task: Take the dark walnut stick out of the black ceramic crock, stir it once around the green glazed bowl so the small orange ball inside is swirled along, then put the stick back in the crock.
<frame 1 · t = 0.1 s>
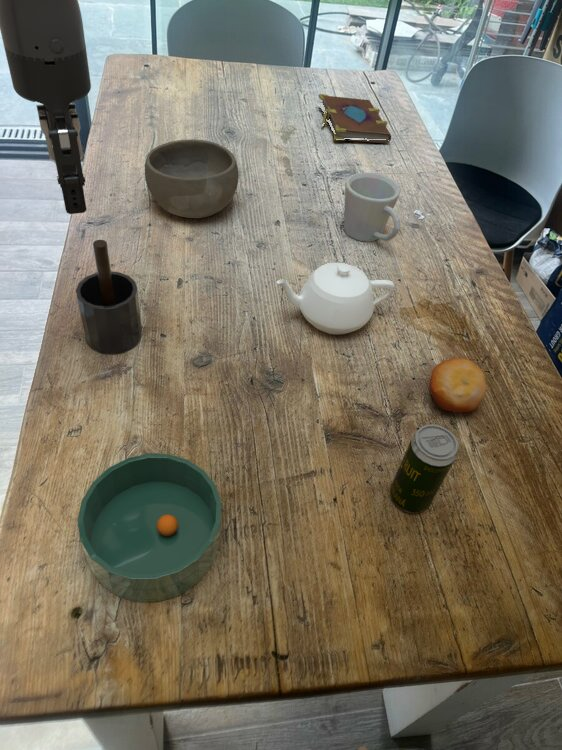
hand: (72, 192, 68), 26 cm above the table, tool pointing down, fingers open, 8 cm apart
stick: (113, 331, 89), point 1 cm above the table, touching crock
crock: (113, 335, 89), on the table
teapot: (330, 317, 98), on the table
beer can: (409, 497, 75), on the table
book: (347, 123, 151), on the table
fruit: (448, 401, 87), on the table
mug: (368, 238, 115), on the table
bowl: (192, 205, 117), on the table
ball: (167, 525, 67), point 2 cm above the table, touching mixing bowl
mixing bowl: (154, 537, 68), on the table
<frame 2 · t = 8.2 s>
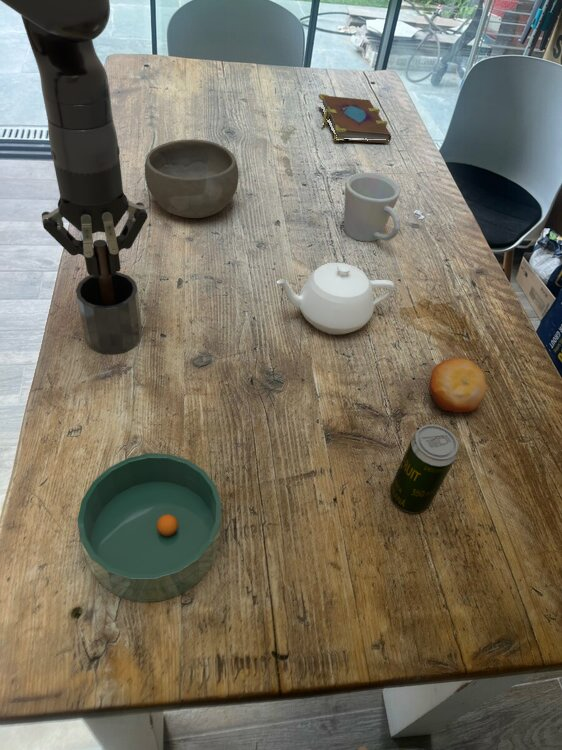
hand: (104, 273, 81), 12 cm above the table, tool pointing down, fingers closed on stick, 2 cm apart
stick: (113, 331, 89), point 1 cm above the table, touching crock, gripper
everything else where it was.
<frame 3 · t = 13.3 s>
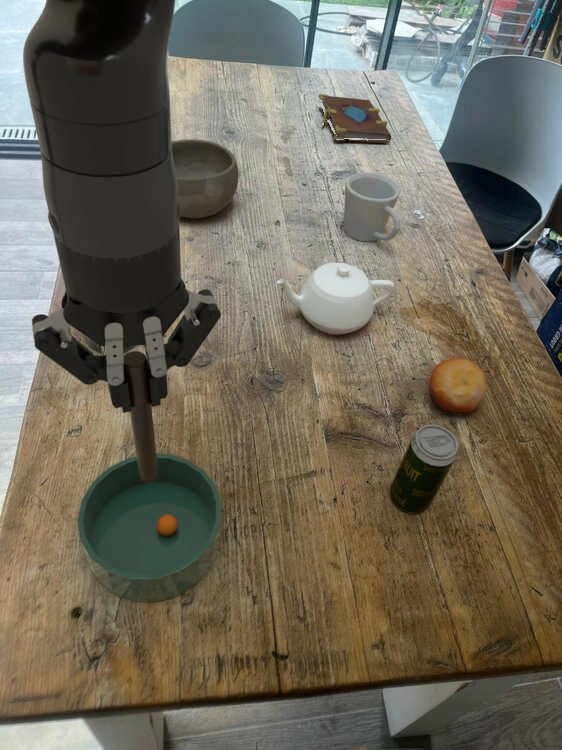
hand: (139, 401, 48), 26 cm above the table, tool pointing down, fingers closed on stick
stick: (148, 475, 56), point 15 cm above the table, touching gripper
everything else where it was.
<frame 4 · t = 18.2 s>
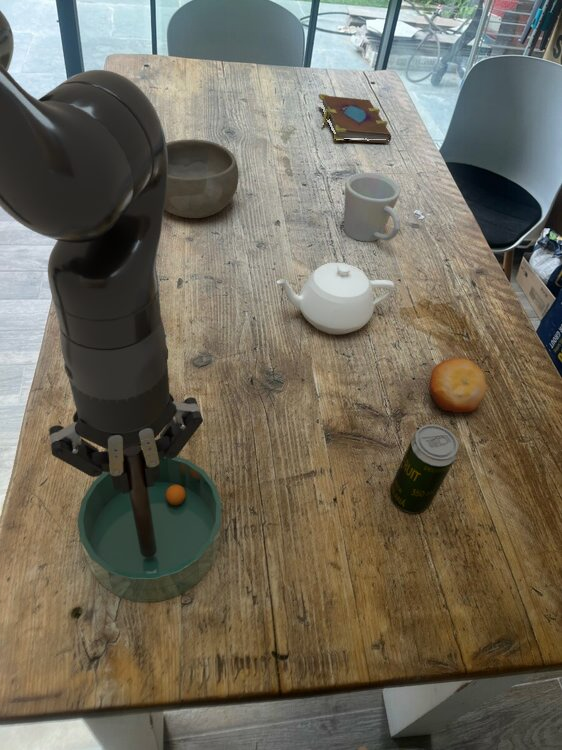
hand: (136, 482, 57), 13 cm above the table, tool pointing down, fingers closed on stick, 2 cm apart
stick: (148, 550, 64), point 2 cm above the table, tilted 8°, touching gripper
ball: (175, 494, 69), point 2 cm above the table, tilted 167°, touching mixing bowl
everything else where it was.
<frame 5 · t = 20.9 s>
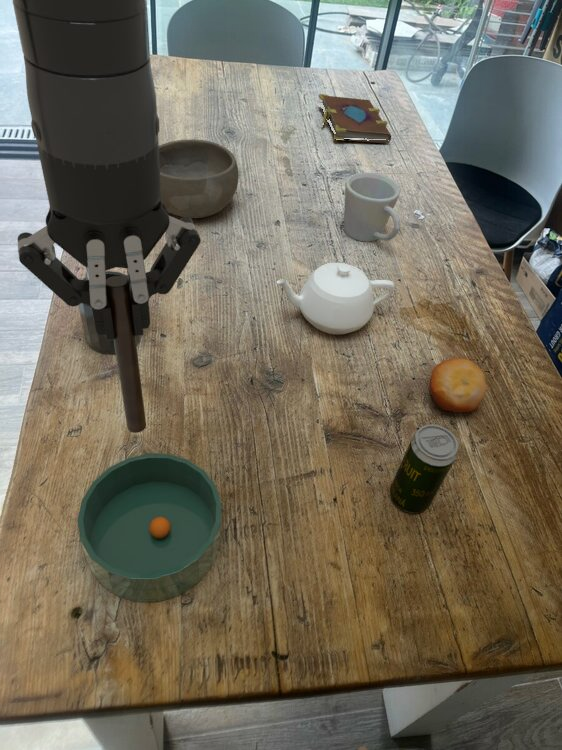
hand: (122, 330, 49), 29 cm above the table, tool pointing down, fingers closed on stick
stick: (136, 426, 56), point 18 cm above the table, tilted 8°, touching gripper
ball: (160, 527, 66), point 2 cm above the table, tilted 26°, touching mixing bowl
everything else where it was.
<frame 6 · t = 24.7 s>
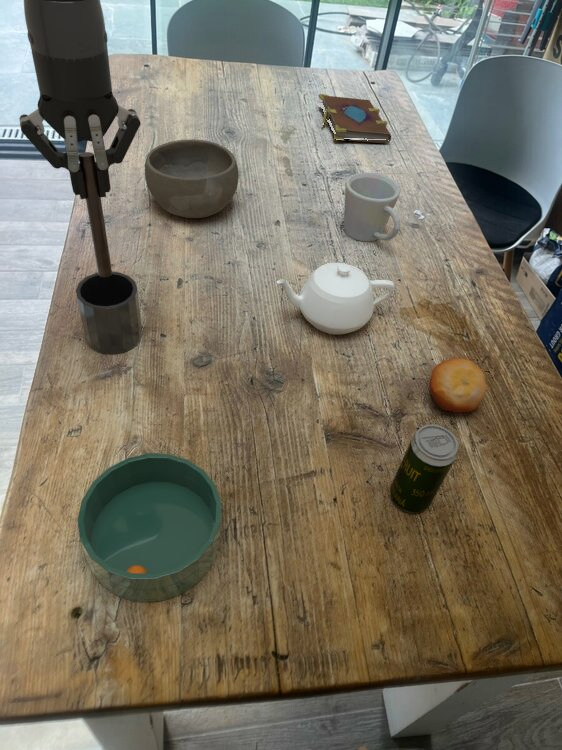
hand: (92, 194, 72), 24 cm above the table, tool pointing down, fingers closed on stick
stick: (105, 274, 79), point 13 cm above the table, tilted 8°, touching gripper
ball: (136, 577, 62), point 2 cm above the table, tilted 42°, touching mixing bowl
everything else where it was.
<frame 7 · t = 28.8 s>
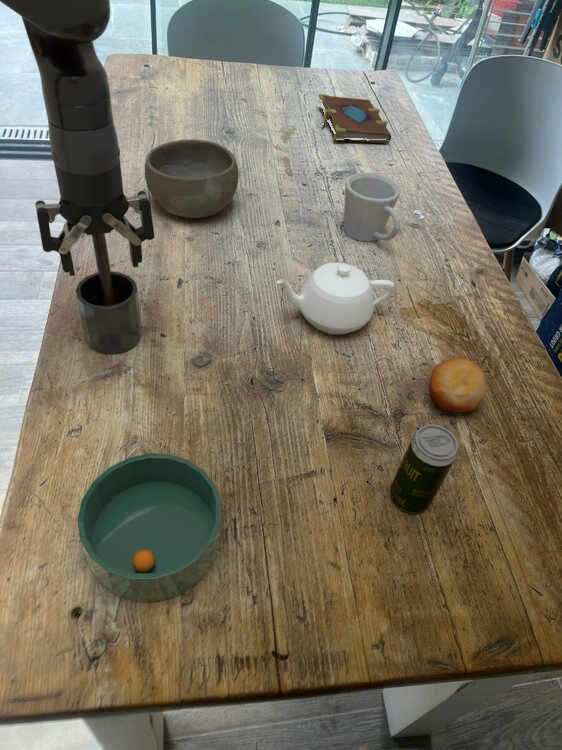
hand: (103, 268, 80), 13 cm above the table, tool pointing down, fingers open, 8 cm apart
stick: (115, 337, 87), point 1 cm above the table, tilted 29°, touching crock
ball: (143, 561, 63), point 2 cm above the table, tilted 132°, touching mixing bowl
everything else where it was.
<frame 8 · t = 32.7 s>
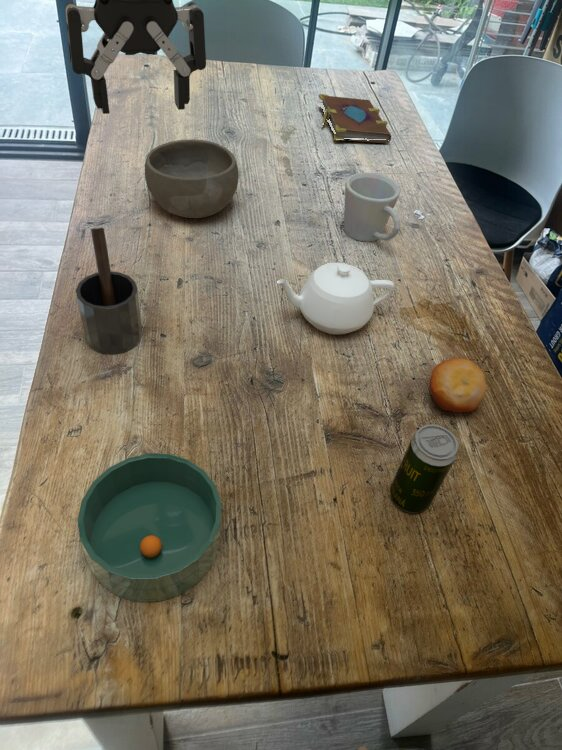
hand: (142, 109, 67), 34 cm above the table, tool pointing down, fingers open, 8 cm apart
ball: (150, 546, 65), point 2 cm above the table, tilted 141°, touching mixing bowl
everything else where it was.
at the end: ball moved 3.1 cm from its start; ball inside the target area in the mixing bowl (2.1 cm from its centre), point 2.0 cm above the mixing bowl's base; stick inside the target area in the crock (1.8 cm from its centre), point 1.2 cm above the crock's base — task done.
